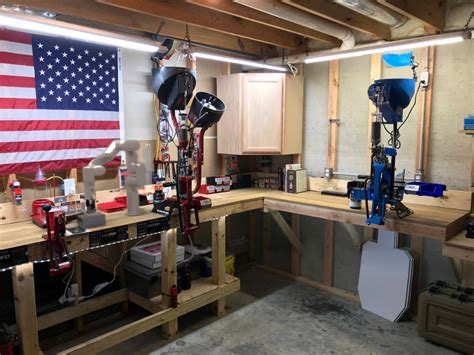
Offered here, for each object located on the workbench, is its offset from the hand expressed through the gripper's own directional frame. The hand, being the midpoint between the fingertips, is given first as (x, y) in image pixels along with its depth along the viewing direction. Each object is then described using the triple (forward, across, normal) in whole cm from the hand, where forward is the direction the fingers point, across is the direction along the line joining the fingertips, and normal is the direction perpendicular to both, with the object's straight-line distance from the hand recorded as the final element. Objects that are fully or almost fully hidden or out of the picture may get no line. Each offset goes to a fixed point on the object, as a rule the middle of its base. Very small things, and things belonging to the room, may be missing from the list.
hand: (90, 207), depth 272 cm
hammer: (+14, +20, +4) cm, 24 cm away
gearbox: (+13, 0, 0) cm, 13 cm away
